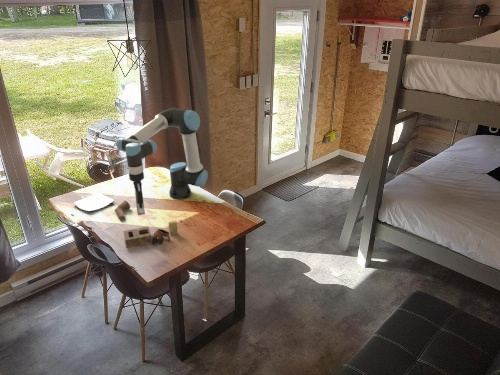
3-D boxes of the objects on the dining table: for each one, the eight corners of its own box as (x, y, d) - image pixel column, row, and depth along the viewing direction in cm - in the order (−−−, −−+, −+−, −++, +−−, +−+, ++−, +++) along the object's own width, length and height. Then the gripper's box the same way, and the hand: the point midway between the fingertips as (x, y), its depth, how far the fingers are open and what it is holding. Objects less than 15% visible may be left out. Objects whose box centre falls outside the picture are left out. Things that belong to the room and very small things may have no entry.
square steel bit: (144, 211, 216) (141, 188, 210) (144, 214, 213) (142, 191, 207) (137, 212, 215) (134, 189, 209) (138, 215, 212) (135, 192, 206)
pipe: (117, 215, 237) (133, 209, 240) (111, 203, 249) (126, 198, 253) (120, 223, 240) (136, 217, 244) (114, 211, 253) (129, 206, 257)
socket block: (149, 233, 227) (148, 226, 225) (152, 242, 219) (151, 235, 217) (124, 238, 222) (123, 231, 220) (126, 247, 214) (125, 240, 212)
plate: (89, 215, 246) (88, 212, 244) (72, 206, 256) (71, 202, 255) (116, 203, 260) (116, 200, 259) (99, 195, 271) (98, 191, 270)
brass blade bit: (177, 232, 229) (176, 220, 226) (177, 233, 228) (176, 222, 224) (169, 233, 228) (168, 221, 224) (170, 235, 226) (169, 223, 223)
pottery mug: (150, 239, 223) (155, 226, 222) (165, 244, 226) (170, 231, 225) (151, 246, 211) (156, 232, 211) (167, 251, 214) (172, 237, 214)
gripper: (126, 167, 209) (132, 205, 219) (130, 179, 195) (135, 219, 205) (141, 165, 212) (145, 202, 222) (145, 177, 198) (150, 216, 208)
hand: (140, 210), depth 214 cm, fingers closed on square steel bit, 4 cm apart
